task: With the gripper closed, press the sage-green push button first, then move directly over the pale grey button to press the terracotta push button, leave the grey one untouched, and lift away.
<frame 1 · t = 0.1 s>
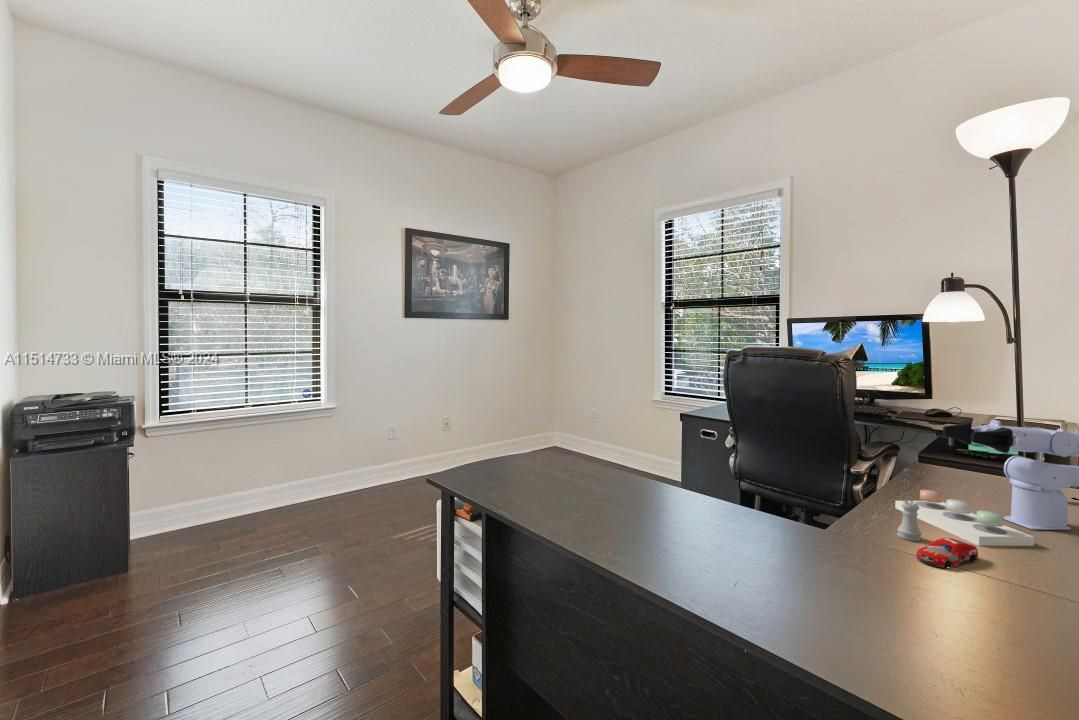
hand: (957, 433, 118), 22 cm above the table, tool horizontal, fingers open, 7 cm apart
terracotta button: (930, 496, 125), point 4 cm above the table, slide at 0.0 cm
button panel: (957, 525, 117), on the table
sage button: (989, 518, 109), point 4 cm above the table, slide at 0.0 cm
race car: (946, 562, 98), on the table
rook chess piece: (909, 539, 109), on the table
grey button: (958, 506, 117), point 4 cm above the table, slide at 0.0 cm
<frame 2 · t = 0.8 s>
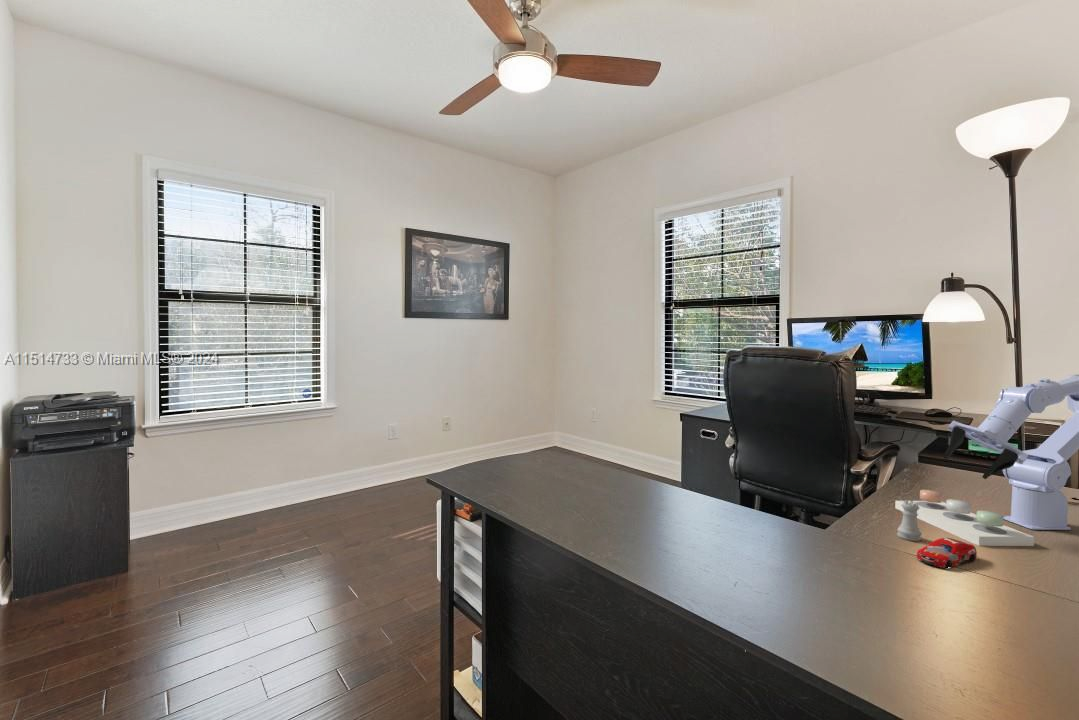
hand: (964, 466, 113), 15 cm above the table, tool tilted 50°, fingers open, 7 cm apart
nothing on the table moved.
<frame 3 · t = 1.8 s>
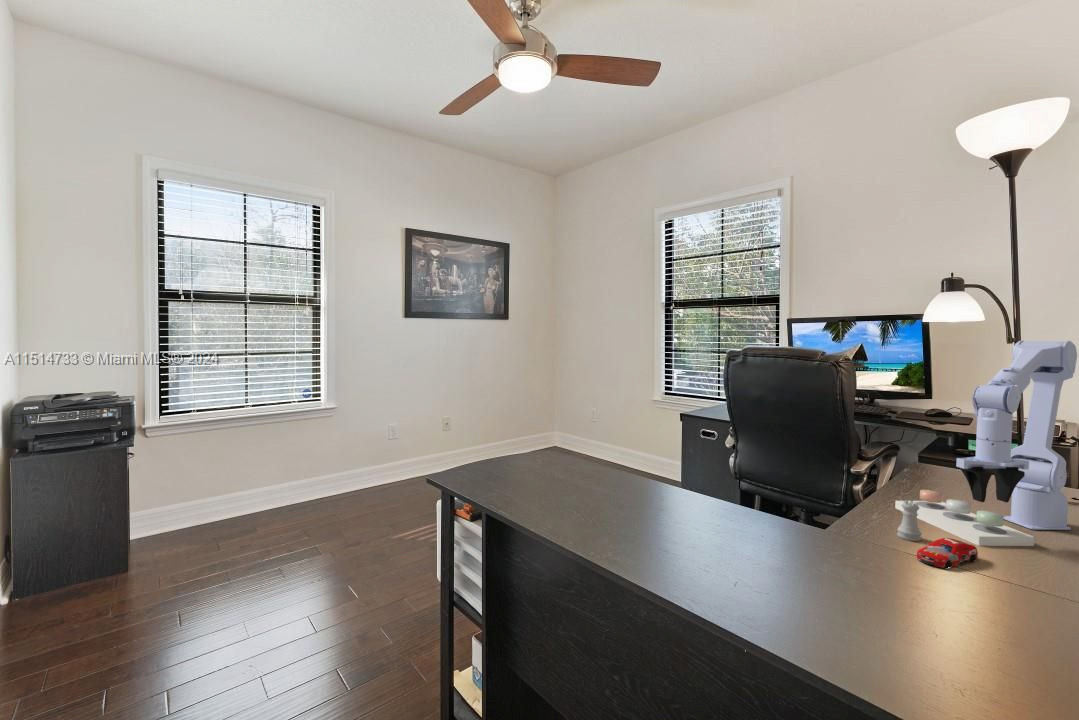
hand: (990, 500, 109), 8 cm above the table, tool pointing down, fingers open, 5 cm apart
nothing on the table moved.
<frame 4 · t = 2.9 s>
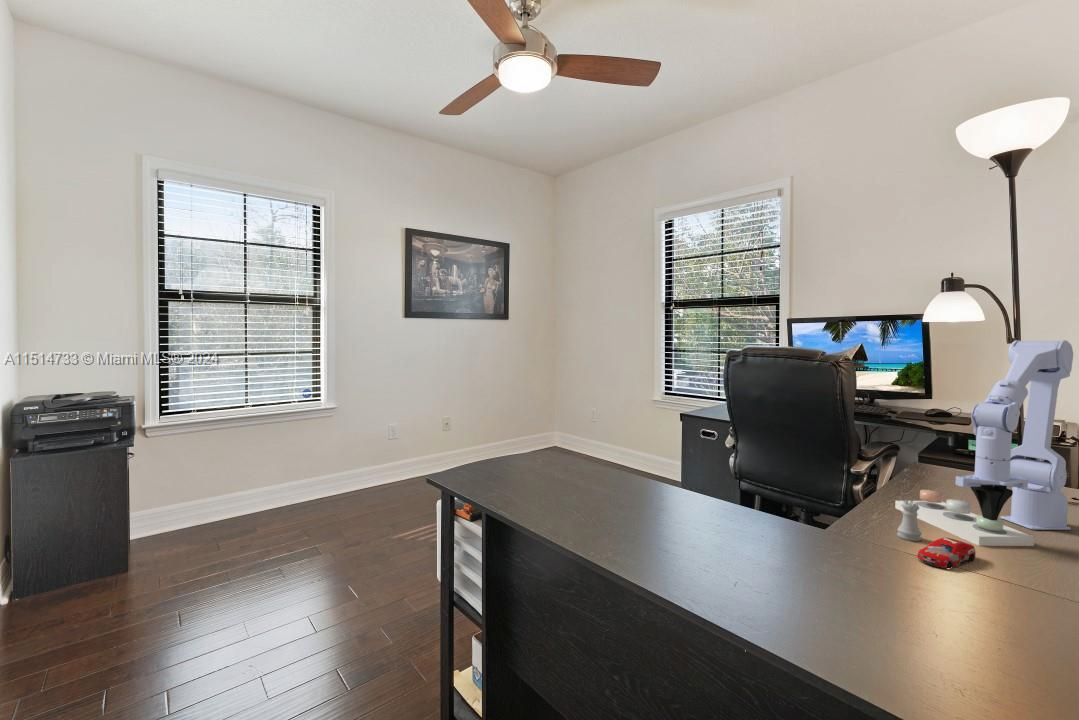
hand: (989, 519, 109), 4 cm above the table, tool pointing down, fingers closed, pressing on sage button
sage button: (989, 523, 109), point 3 cm above the table, slide at 1.1 cm, touching gripper
everything else where it was.
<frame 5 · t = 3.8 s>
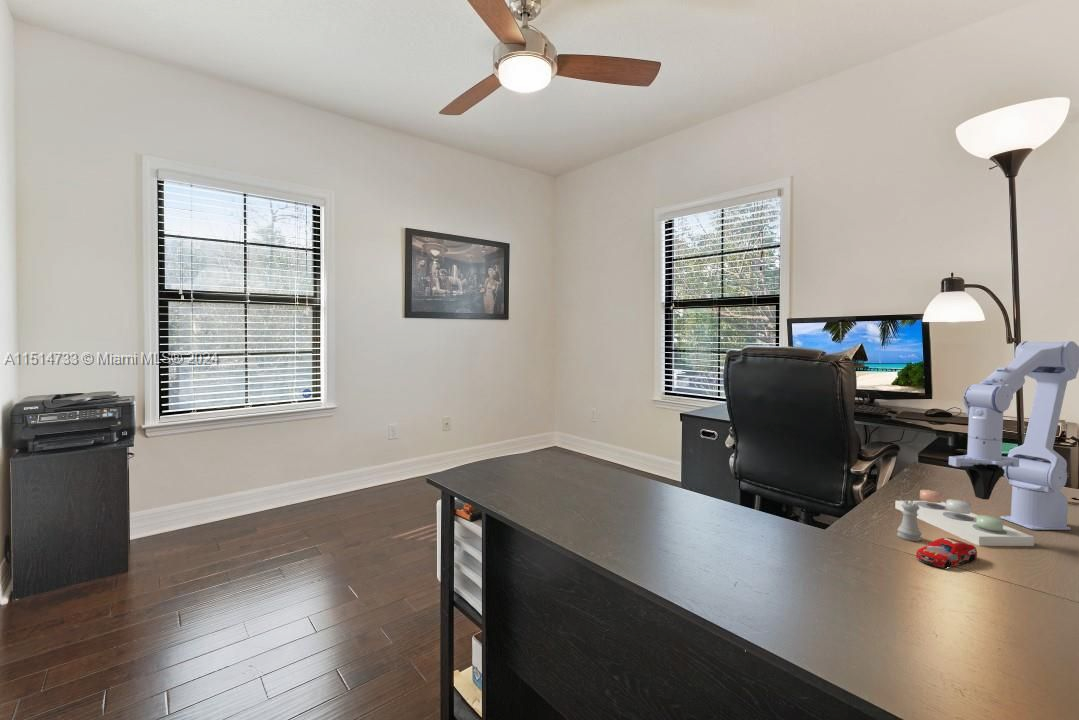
hand: (982, 498, 111), 8 cm above the table, tool pointing down, fingers closed
sage button: (989, 523, 109), point 3 cm above the table, slide at 1.1 cm
everything else where it was.
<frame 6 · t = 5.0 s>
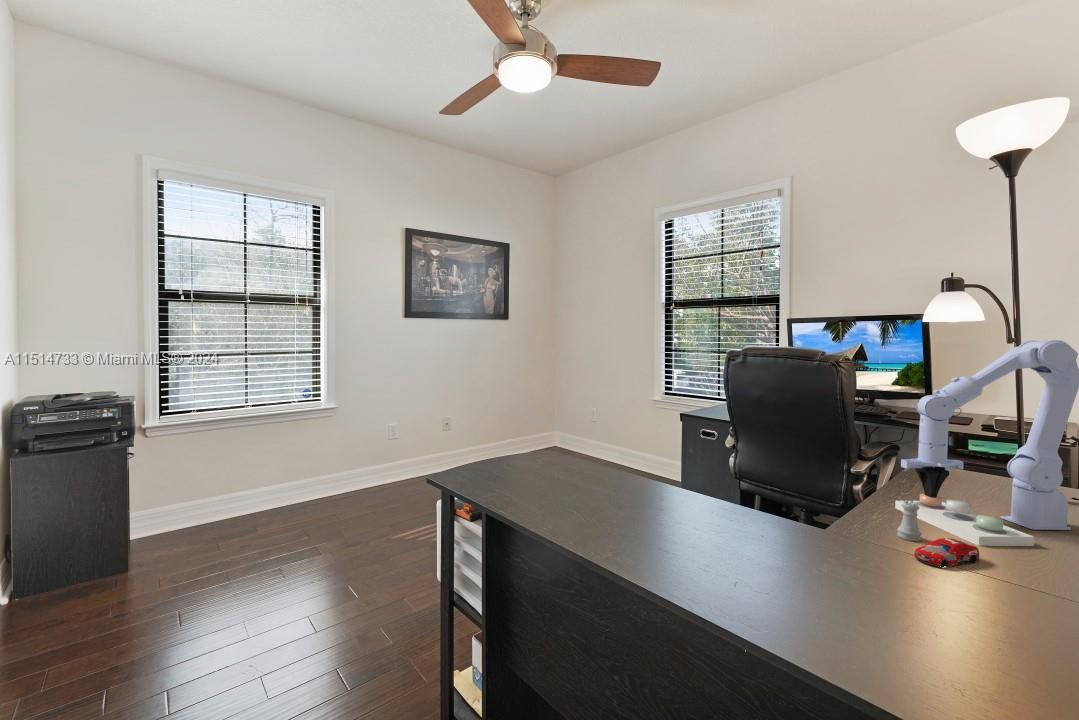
hand: (930, 496, 125), 4 cm above the table, tool pointing down, fingers closed, pressing on terracotta button
terracotta button: (930, 500, 125), point 3 cm above the table, slide at 1.1 cm, touching gripper
everything else where it was.
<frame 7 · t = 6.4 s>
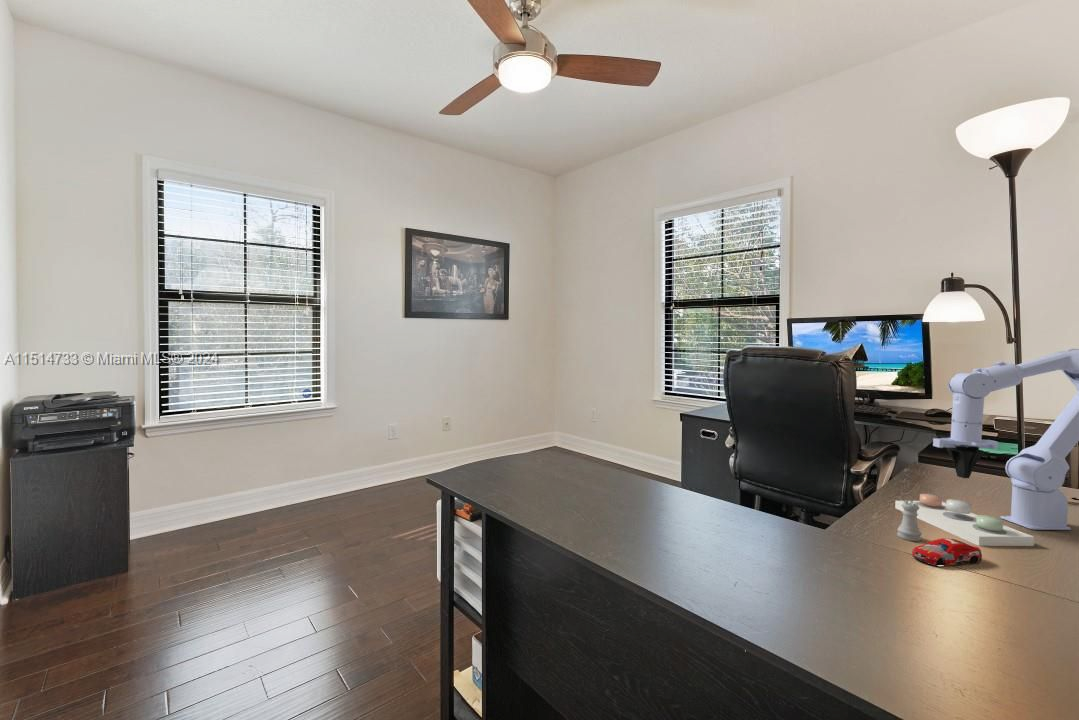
hand: (963, 477, 121), 10 cm above the table, tool pointing down, fingers closed
terracotta button: (930, 500, 125), point 3 cm above the table, slide at 1.1 cm
everything else where it was.
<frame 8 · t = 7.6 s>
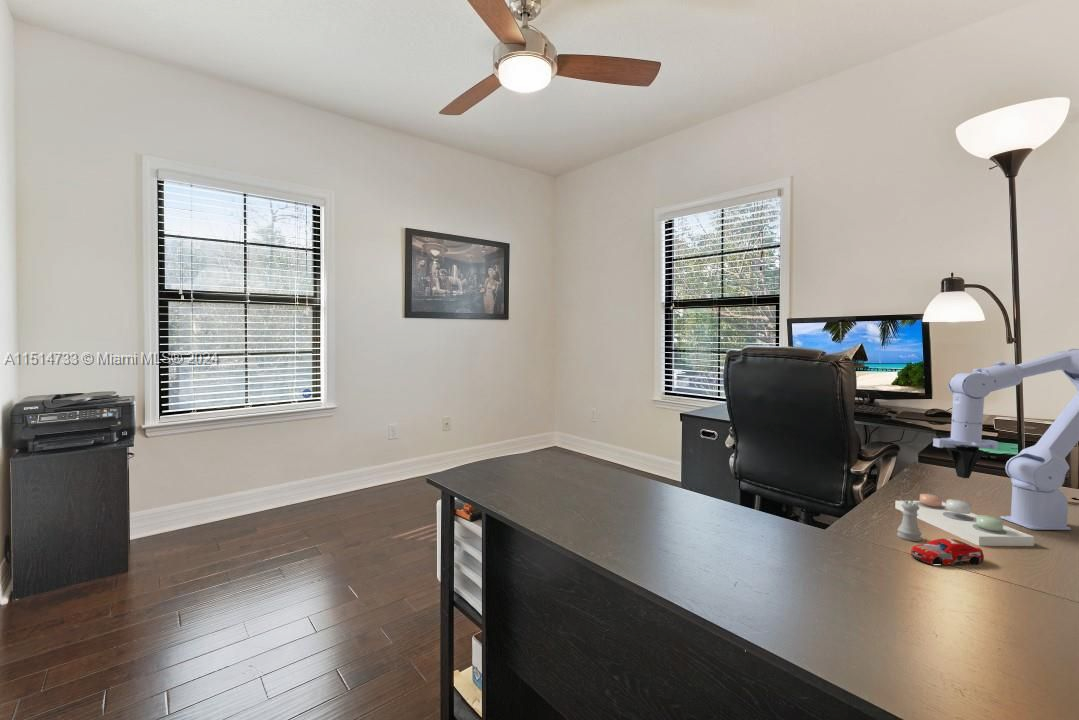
hand: (963, 477, 121), 10 cm above the table, tool pointing down, fingers closed
at the end: sage button slide at 1.1 cm; terracotta button slide at 1.1 cm; grey button slide at 0.0 cm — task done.
